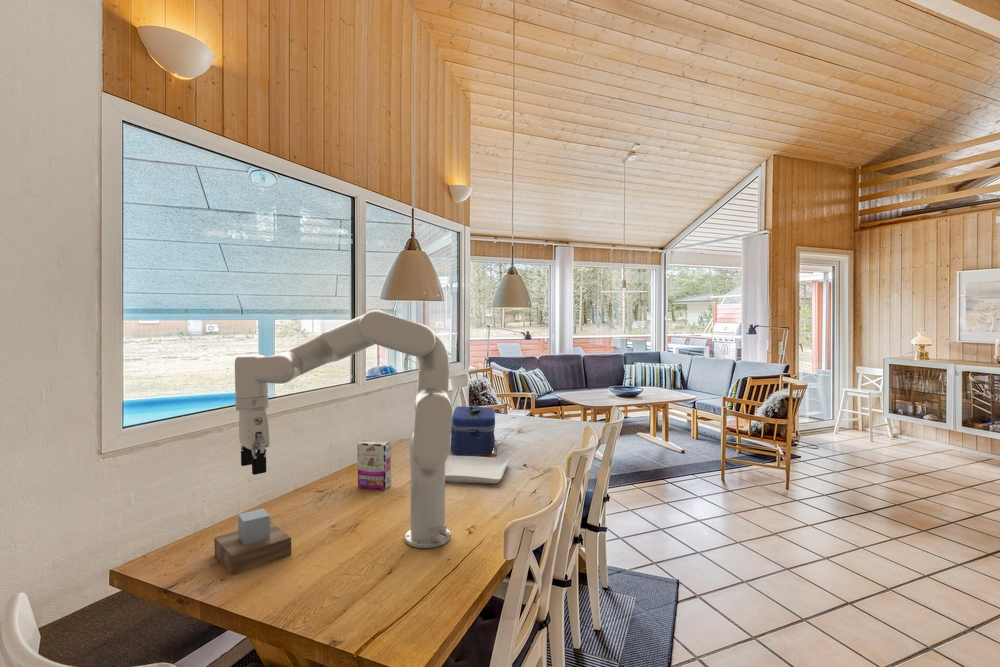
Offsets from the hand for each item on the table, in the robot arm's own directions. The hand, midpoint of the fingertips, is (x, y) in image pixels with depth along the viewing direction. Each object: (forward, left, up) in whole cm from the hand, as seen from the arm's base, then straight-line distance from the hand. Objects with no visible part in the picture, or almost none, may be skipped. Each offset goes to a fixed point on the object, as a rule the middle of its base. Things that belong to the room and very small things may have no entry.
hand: (253, 469), depth 126 cm
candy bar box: (+26, -48, -23) cm, 59 cm away
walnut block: (0, 0, -23) cm, 23 cm away
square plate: (+14, -84, -23) cm, 88 cm away
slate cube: (0, 0, -18) cm, 18 cm away
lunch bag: (+44, -109, -23) cm, 120 cm away
